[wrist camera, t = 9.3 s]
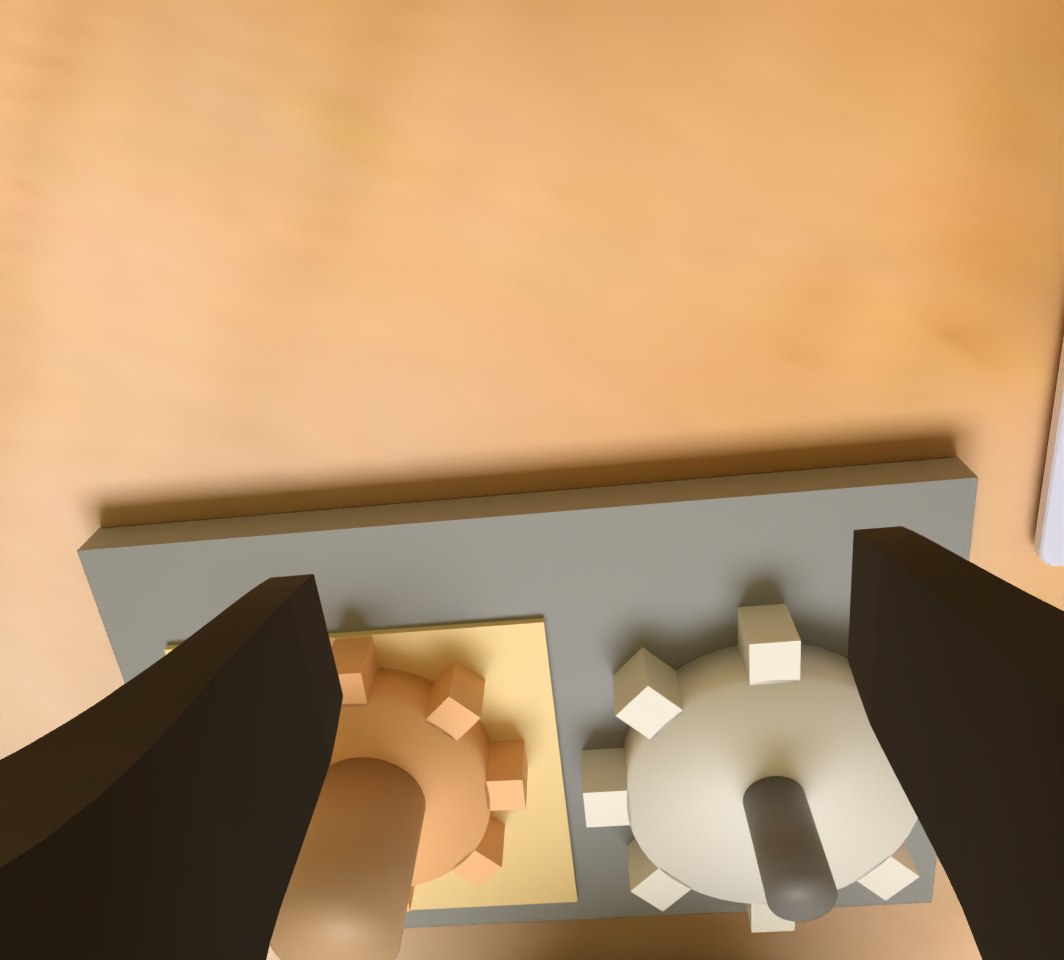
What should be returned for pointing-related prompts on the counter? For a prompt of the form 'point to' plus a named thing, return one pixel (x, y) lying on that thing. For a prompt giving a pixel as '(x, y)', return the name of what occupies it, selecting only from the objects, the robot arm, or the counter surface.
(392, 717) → the wood gear
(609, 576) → the gear board
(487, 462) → the counter surface
